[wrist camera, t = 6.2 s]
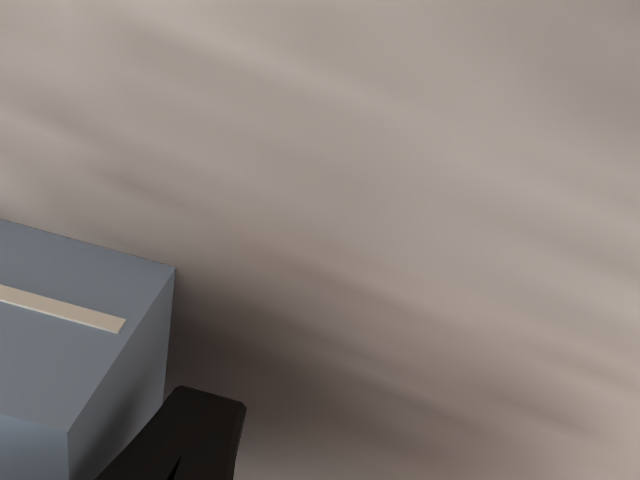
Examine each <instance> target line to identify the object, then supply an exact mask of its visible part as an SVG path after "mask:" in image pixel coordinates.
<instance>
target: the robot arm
mask: <svg viewBox="0 0 640 480" xmlns="http://www.w3.org/2000/svg"><path fill="white" fill-rule="evenodd" d="M246 410H247V408H246V407H245V405H244V404H243V403H242V402H240V401H236V400H232V399H229V398H225V397H222V396H218V395H215V394H211V393H207V392H204V391H200V390H197V389H193V388H190V387H186V386H182V385H181V386H179V387H176V388H175V389H174V390H173V392H172V393H171V394H170V396H169V397H168V398H167V400H166V401H165V402H164V403H163V405H162V406H161V407H160V408H159V410H158V411H157V412H156V413H155V415H154V416H153V417H152V418H151V419H150V420H149V422H148V423H147V424H146V425H145V426H144V427H143V429H142V430H141V431H140V432H139V433H138V434H137V435H136V436H135V437H134V439H133V440H132V441H131V442H130V443H129V444H128V445H127V446H126V447H125V449H124V450H123V451H122V452H121V453H120V454H119V455H118V456H117V457H116V458H115V459H114V460H113V461H112V462H111V463H110V464H109V465H108V466H107V467H106V468H105V469H104V470H103V471H102V472H101V473H100V474H99V475H98V476H97V477H96V479H95V480H233V475H234V467H235V459H236V455H237V450H238V446H239V441H240V437H241V432H242V428H243V423H244V419H245V414H246Z"/></svg>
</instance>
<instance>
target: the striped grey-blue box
mask: <svg viewBox="0 0 640 480" xmlns="http://www.w3.org/2000/svg"><path fill="white" fill-rule="evenodd" d="M175 271H176V267H173V266H169V265H165V264H162V263H158V262H154V261H151V260H147V259H144V258H140V257H136V256H133V255H129V254H125V253H122V252H118V251H114V250H111V249H107V248H104V247H100V246H96V245H93V244H89V243H85V242H82V241H78V240H75V239H71V238H67V237H64V236H60V235H56V234H53V233H49V232H46V231H42V230H38V229H35V228H31V227H27V226H24V225H20V224H17V223H13V222H9V221H6V220H2V219H0V480H95V479H96V477H97V476H98V475H99V474H100V473H101V472H102V471H103V470H104V469H105V468H106V467H107V466H108V465H109V464H110V463H111V462H112V461H113V460H114V459H115V458H116V457H117V456H118V455H119V454H120V453H121V452H122V451H123V450H124V449H125V447H126V446H127V445H128V444H129V443H130V442H131V441H132V440H133V439H134V437H135V436H136V435H137V434H138V433H139V432H140V431H141V430H142V429H143V427H144V426H145V425H146V424H147V423H148V422H149V420H150V419H151V418H152V417H153V416H154V415H155V413H156V412H157V411H158V410H159V408H160V407H161V406H162V404H163V394H164V384H165V374H166V363H167V353H168V343H169V333H170V323H171V312H172V302H173V292H174V282H175Z"/></svg>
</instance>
